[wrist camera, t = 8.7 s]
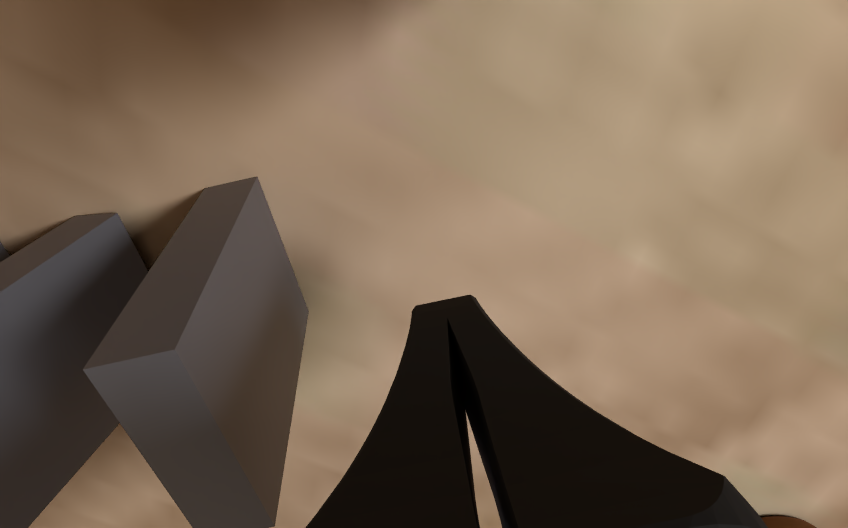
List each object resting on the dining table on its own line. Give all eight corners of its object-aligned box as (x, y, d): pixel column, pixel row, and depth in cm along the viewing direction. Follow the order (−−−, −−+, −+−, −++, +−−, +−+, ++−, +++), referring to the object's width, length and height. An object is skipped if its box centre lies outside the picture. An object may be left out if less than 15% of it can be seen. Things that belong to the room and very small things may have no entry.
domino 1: (187, 345, 18) (-30, 592, 12) (148, 345, 19) (-81, 582, 12) (117, 212, 16) (-211, 434, 9) (74, 215, 16) (-268, 428, 10)
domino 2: (308, 311, 18) (274, 526, 12) (263, 321, 19) (202, 541, 12) (257, 176, 16) (174, 349, 9) (204, 188, 16) (82, 369, 9)
